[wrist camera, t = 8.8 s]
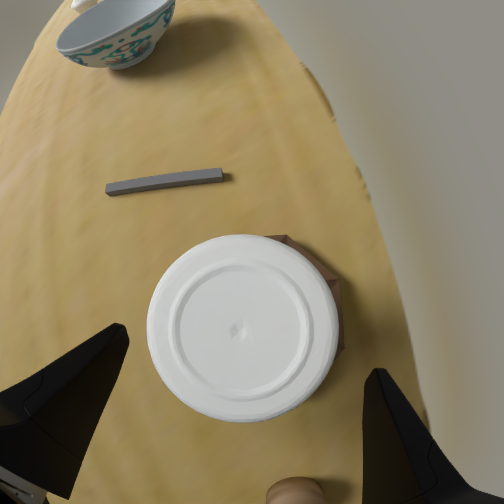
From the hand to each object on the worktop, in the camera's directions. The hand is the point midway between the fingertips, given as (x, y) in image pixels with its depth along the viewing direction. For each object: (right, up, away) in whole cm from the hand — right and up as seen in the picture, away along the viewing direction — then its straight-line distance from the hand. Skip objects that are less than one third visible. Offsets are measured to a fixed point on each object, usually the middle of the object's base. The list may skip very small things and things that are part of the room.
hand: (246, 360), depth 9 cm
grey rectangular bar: (-7, +9, +13) cm, 17 cm away
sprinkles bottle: (0, -1, +10) cm, 10 cm away
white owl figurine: (-34, +54, +25) cm, 68 cm away
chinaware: (-15, +29, +18) cm, 37 cm away
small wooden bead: (+4, -16, +6) cm, 17 cm away
